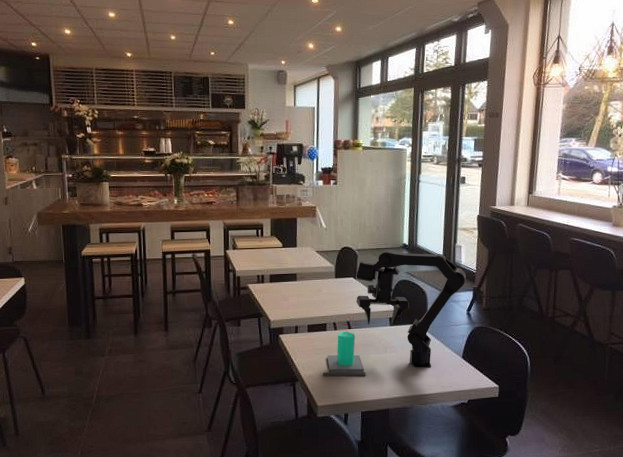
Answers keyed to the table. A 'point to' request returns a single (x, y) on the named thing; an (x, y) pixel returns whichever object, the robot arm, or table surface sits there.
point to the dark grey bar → (344, 374)
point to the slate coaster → (336, 367)
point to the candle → (345, 348)
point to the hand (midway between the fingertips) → (380, 324)
